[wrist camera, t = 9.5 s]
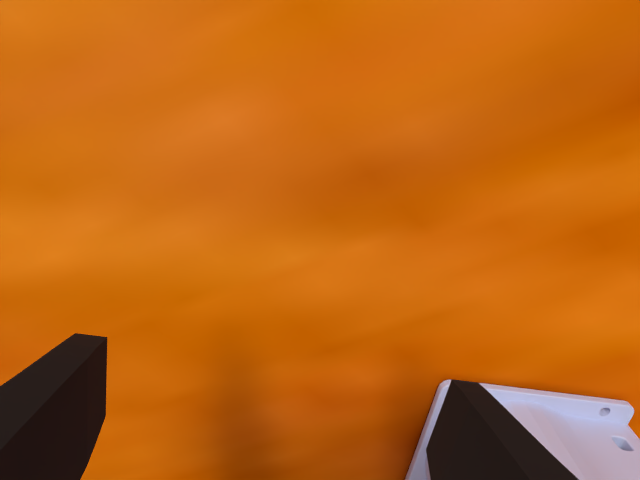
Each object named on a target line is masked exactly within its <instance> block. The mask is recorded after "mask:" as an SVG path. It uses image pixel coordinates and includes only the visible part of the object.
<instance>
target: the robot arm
mask: <svg viewBox="0 0 640 480" xmlns="http://www.w3.org/2000/svg"><path fill="white" fill-rule="evenodd" d="M106 368H107V337H101V336H93V335H85V334H76V333H75V334H74V335H72V336H71V337H69V338H68V339H66V340H65V341H64V342H62V343H61V344H59V345H58V346H56V347H55V348H54V349H52V350H51V351H49V352H48V353H47V354H45V355H44V356H42V357H41V358H40V359H38V360H37V361H36V362H34V363H33V364H31V365H30V366H29V367H27V368H26V369H24V370H23V371H22V372H20V373H19V374H17V375H16V376H15V377H13V378H12V379H10V380H9V381H7V382H6V383H4V384H3V385H1V386H0V480H80V479H81V477H82V475H83V473H84V471H85V469H86V467H87V464H88V462H89V459H90V457H91V454H92V451H93V449H94V446H95V444H96V441H97V438H98V435H99V433H100V430H101V427H102V424H103V422H104V419H105V416H106ZM602 408H603V409H602ZM633 414H634V408H633V407H632V406H631V405H630V404H629V403H628V402H627V401H623V400H615V399H607V398H599V397H590V396H582V395H574V394H566V393H558V392H550V391H541V390H533V389H525V388H517V387H509V386H501V385H492V384H484V383H476V382H468V381H460V380H445V381H443V382H442V383H441V384H440V385H439V387H438V389H437V392H436V395H435V397H434V400H433V403H432V406H431V409H430V411H429V414H428V417H427V420H426V422H425V425H424V428H423V431H422V434H421V436H420V439H419V442H418V445H417V448H416V450H415V453H414V456H413V459H412V462H411V464H410V467H409V470H408V473H407V475H406V478H405V480H640V439H639V438H638V437H637V435H636V434H635V433H634V432H633V431H632V429H631V428H630V427H629V426H628V423H629V421H630V419H631V418H632V416H633Z"/></svg>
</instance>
